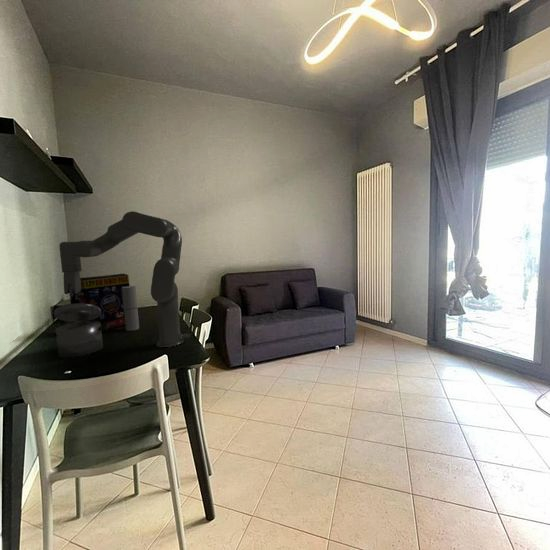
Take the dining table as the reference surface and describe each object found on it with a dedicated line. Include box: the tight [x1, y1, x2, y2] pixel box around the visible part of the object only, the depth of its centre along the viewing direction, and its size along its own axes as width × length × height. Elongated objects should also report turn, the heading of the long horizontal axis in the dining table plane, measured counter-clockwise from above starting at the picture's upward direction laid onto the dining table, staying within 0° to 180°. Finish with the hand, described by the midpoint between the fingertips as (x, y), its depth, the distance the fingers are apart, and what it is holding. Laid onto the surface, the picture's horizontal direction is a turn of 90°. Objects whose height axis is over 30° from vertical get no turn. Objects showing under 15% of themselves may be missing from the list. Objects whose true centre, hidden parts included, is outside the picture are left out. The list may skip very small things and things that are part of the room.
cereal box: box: [79, 273, 131, 332], centre depth 186 cm, size 27×11×32 cm, turn 142°
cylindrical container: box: [122, 285, 140, 332], centre depth 180 cm, size 7×7×25 cm
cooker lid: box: [53, 303, 101, 323], centre depth 146 cm, size 19×19×3 cm
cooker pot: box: [46, 321, 109, 359], centre depth 146 cm, size 24×20×12 cm
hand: (75, 307), depth 143 cm, fingers closed
